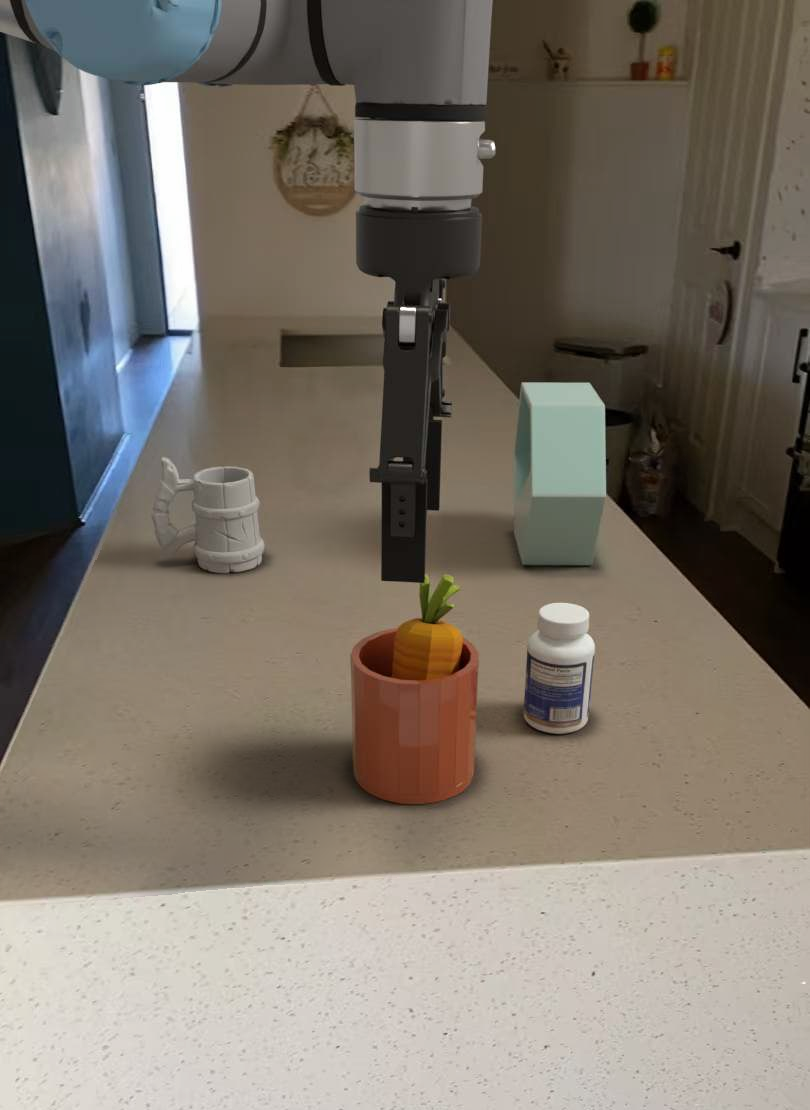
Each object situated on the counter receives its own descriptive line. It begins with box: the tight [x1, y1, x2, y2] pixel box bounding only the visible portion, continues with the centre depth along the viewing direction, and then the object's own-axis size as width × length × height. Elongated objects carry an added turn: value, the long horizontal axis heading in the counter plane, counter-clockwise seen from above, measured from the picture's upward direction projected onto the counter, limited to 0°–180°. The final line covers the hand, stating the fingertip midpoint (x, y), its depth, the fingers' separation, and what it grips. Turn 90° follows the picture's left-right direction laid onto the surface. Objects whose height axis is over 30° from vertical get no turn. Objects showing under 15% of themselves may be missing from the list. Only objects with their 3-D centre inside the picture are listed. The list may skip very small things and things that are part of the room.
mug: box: [150, 456, 266, 574], centre depth 118 cm, size 8×12×12 cm, turn 101°
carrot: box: [392, 573, 463, 681], centre depth 80 cm, size 5×5×15 cm
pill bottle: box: [523, 602, 596, 735], centre depth 88 cm, size 5×5×10 cm
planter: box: [513, 381, 607, 566], centre depth 121 cm, size 17×8×21 cm
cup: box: [350, 627, 480, 805], centre depth 81 cm, size 9×9×10 cm
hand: (412, 541), depth 75 cm, fingers open, 13 cm apart
